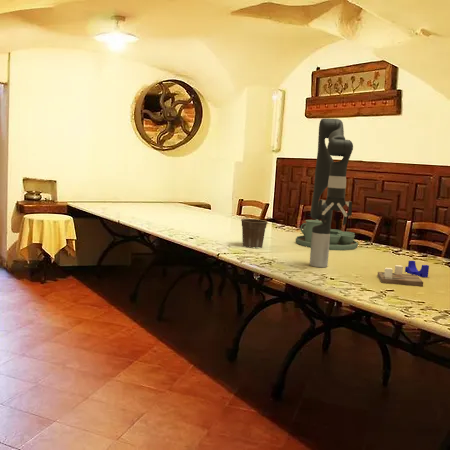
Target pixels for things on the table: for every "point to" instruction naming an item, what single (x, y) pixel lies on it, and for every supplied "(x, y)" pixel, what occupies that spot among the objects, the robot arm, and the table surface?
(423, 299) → the table surface
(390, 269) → the tab
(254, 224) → the plant pot
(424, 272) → the cable clip
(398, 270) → the tab
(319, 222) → the green tea tray
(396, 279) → the switch board
